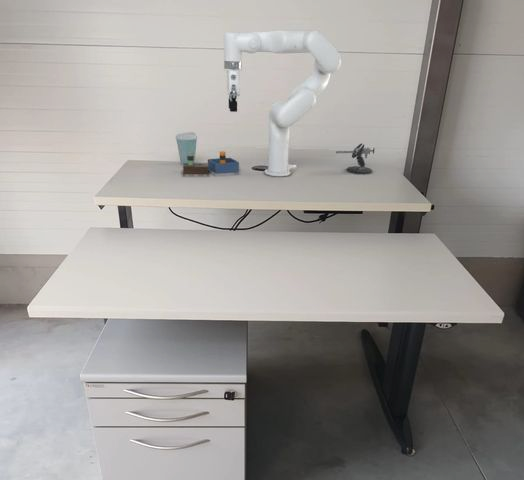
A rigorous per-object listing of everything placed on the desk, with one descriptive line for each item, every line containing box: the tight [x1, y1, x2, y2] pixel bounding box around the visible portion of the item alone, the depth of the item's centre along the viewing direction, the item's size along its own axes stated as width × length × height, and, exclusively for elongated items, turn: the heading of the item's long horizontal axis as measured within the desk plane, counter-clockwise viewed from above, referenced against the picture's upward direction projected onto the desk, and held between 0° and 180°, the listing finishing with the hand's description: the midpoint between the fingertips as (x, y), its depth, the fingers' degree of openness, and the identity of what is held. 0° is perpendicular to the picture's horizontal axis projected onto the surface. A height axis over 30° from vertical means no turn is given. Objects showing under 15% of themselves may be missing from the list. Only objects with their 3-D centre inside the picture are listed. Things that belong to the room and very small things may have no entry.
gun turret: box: [335, 143, 376, 175], centre depth 250 cm, size 13×20×13 cm, turn 102°
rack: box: [182, 162, 209, 175], centre depth 236 cm, size 7×11×4 cm, turn 96°
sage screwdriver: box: [187, 152, 194, 165], centre depth 234 cm, size 3×3×9 cm
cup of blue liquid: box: [175, 131, 198, 165], centre depth 249 cm, size 11×11×15 cm
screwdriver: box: [219, 150, 227, 163], centre depth 240 cm, size 3×3×9 cm
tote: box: [207, 157, 240, 175], centre depth 241 cm, size 12×10×6 cm
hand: (232, 110), depth 223 cm, fingers open, 9 cm apart
